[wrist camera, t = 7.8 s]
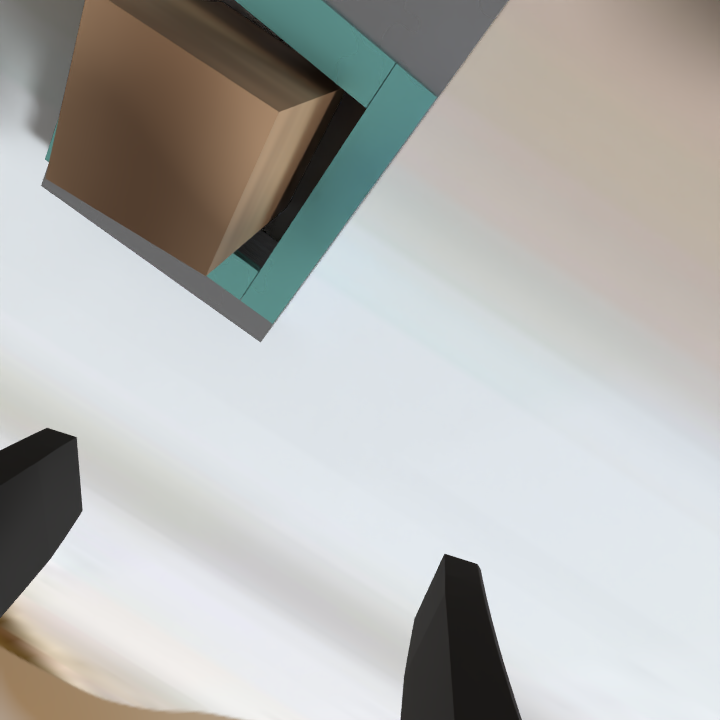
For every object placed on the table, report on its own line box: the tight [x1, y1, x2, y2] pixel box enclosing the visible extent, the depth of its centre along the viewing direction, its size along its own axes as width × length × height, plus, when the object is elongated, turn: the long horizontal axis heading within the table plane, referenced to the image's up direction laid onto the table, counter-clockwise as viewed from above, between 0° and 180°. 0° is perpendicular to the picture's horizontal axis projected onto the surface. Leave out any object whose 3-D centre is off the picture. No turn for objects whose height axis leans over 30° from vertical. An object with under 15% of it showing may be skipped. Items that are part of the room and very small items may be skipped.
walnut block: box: [45, 0, 345, 276], centre depth 14 cm, size 4×4×6 cm
